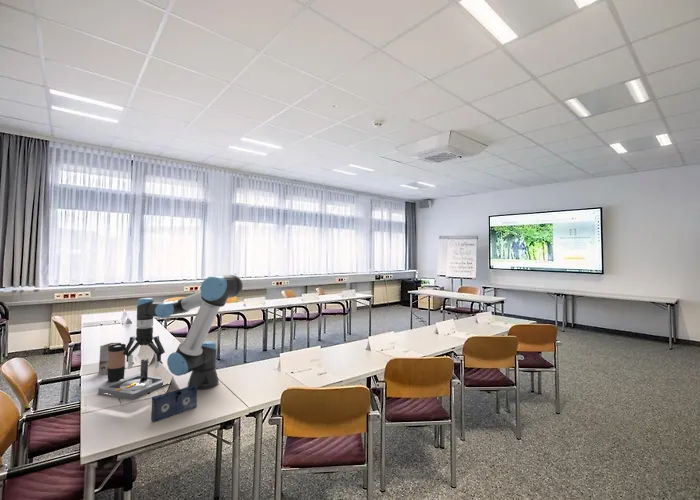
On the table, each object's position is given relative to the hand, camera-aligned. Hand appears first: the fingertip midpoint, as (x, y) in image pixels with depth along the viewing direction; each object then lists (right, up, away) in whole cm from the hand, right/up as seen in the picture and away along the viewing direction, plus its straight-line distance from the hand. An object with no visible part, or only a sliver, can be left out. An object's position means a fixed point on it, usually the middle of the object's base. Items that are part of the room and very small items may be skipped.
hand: (143, 367), depth 173 cm
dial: (0, -8, -6) cm, 10 cm away
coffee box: (-34, -10, +22) cm, 42 cm away
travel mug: (-18, -10, +5) cm, 21 cm away
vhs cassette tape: (+32, -10, -30) cm, 45 cm away
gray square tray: (0, -10, -6) cm, 11 cm away
